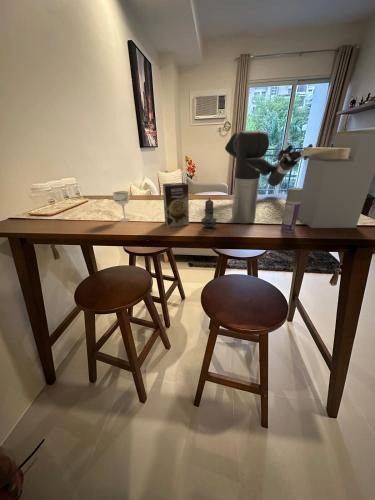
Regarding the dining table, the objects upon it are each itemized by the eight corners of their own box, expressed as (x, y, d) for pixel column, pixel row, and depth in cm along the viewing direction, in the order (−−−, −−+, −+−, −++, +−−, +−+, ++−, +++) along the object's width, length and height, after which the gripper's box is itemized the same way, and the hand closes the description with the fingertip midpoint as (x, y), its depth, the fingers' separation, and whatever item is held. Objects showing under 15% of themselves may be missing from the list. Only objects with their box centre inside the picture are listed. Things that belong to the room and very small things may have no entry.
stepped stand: (311, 227, 80) (335, 130, 66) (296, 216, 93) (313, 132, 78) (355, 227, 79) (389, 128, 65) (334, 216, 92) (359, 131, 77)
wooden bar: (334, 158, 68) (337, 148, 66) (302, 155, 89) (304, 147, 88) (347, 158, 67) (350, 148, 66) (312, 155, 89) (314, 147, 88)
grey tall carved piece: (215, 231, 79) (216, 199, 74) (200, 231, 80) (200, 199, 75) (217, 226, 84) (218, 196, 79) (202, 225, 86) (202, 195, 80)
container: (290, 227, 81) (298, 187, 74) (296, 232, 77) (306, 189, 70) (278, 228, 81) (285, 187, 74) (284, 232, 77) (291, 190, 70)
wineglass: (127, 222, 92) (122, 194, 86) (114, 221, 94) (108, 194, 88) (135, 218, 97) (132, 191, 92) (123, 217, 99) (118, 190, 94)
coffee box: (167, 227, 85) (164, 186, 78) (164, 222, 90) (161, 183, 83) (189, 225, 87) (188, 184, 80) (185, 220, 92) (184, 181, 85)
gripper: (272, 157, 111) (284, 138, 95) (300, 156, 110) (317, 137, 94) (272, 171, 111) (285, 154, 94) (301, 170, 110) (318, 154, 94)
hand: (301, 146), depth 94 cm, fingers open, 8 cm apart
